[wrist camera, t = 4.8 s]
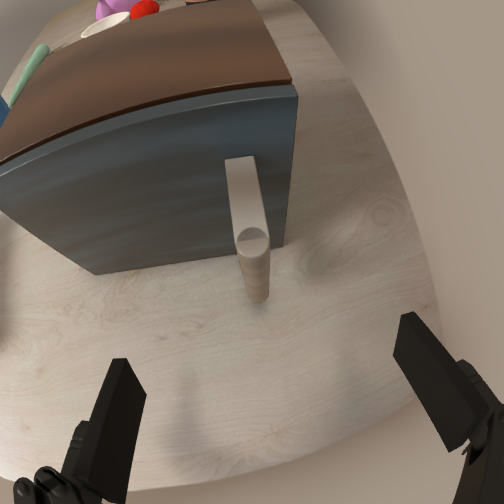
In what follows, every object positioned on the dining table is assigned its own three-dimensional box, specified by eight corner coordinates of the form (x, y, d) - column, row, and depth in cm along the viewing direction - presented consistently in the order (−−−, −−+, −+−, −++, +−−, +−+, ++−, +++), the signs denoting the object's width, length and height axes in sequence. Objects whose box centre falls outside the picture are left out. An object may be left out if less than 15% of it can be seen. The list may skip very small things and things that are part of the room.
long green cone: (-6, 99, 41) (33, 48, 50) (4, 112, 46) (40, 60, 55) (6, 91, 40) (46, 41, 50) (16, 105, 46) (52, 53, 55)
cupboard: (280, 236, 28) (292, 78, 12) (96, 265, 28) (-21, 173, 12) (257, 129, 34) (249, -4, 17) (108, 159, 34) (45, 56, 17)
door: (294, 306, 26) (339, 203, 9) (94, 329, 26) (-47, 276, 9) (280, 237, 28) (293, 83, 12) (95, 266, 28) (-21, 177, 12)
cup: (146, 64, 43) (131, 18, 33) (99, 85, 42) (78, 42, 32) (141, 47, 46) (128, 7, 36) (99, 65, 45) (82, 28, 35)
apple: (159, 23, 51) (153, 0, 45) (130, 31, 52) (123, 9, 45) (163, 14, 54) (158, -7, 48) (136, 21, 54) (130, 1, 48)
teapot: (131, 24, 54) (120, -10, 43) (88, 39, 54) (75, 8, 43) (149, 3, 61) (141, -25, 50) (111, 15, 62) (102, -12, 50)
